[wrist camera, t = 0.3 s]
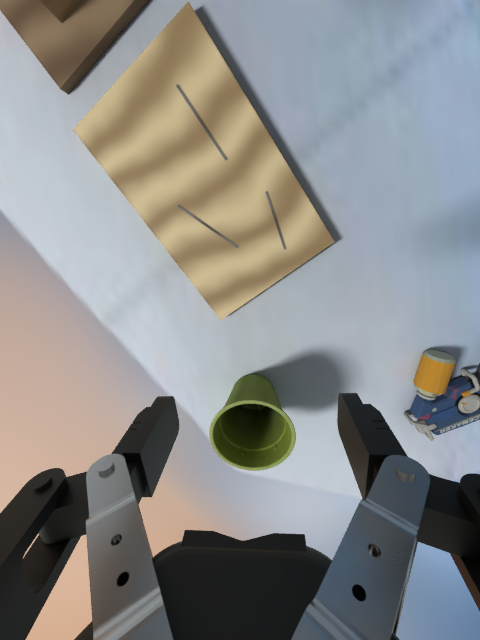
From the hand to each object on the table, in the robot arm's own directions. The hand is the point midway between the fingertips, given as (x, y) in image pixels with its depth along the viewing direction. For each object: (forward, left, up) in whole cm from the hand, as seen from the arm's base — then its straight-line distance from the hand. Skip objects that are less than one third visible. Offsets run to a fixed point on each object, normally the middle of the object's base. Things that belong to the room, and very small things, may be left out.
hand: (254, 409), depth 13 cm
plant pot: (+18, +6, -30) cm, 35 cm away
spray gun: (+3, +36, -30) cm, 47 cm away
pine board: (-11, -11, -30) cm, 33 cm away
